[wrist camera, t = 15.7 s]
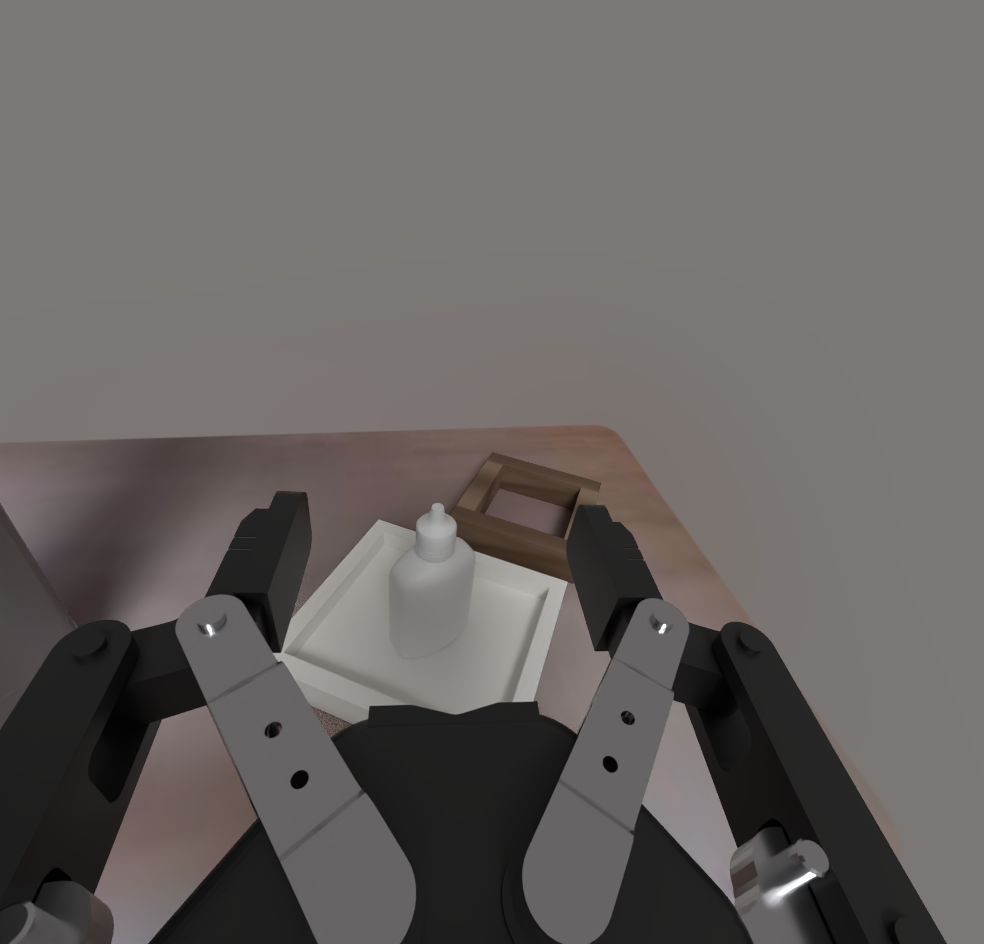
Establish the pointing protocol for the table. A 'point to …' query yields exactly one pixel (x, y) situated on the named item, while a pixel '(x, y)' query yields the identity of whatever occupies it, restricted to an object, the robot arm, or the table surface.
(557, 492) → the walnut holder
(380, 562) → the tray
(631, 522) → the table surface
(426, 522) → the eye dropper bottle
